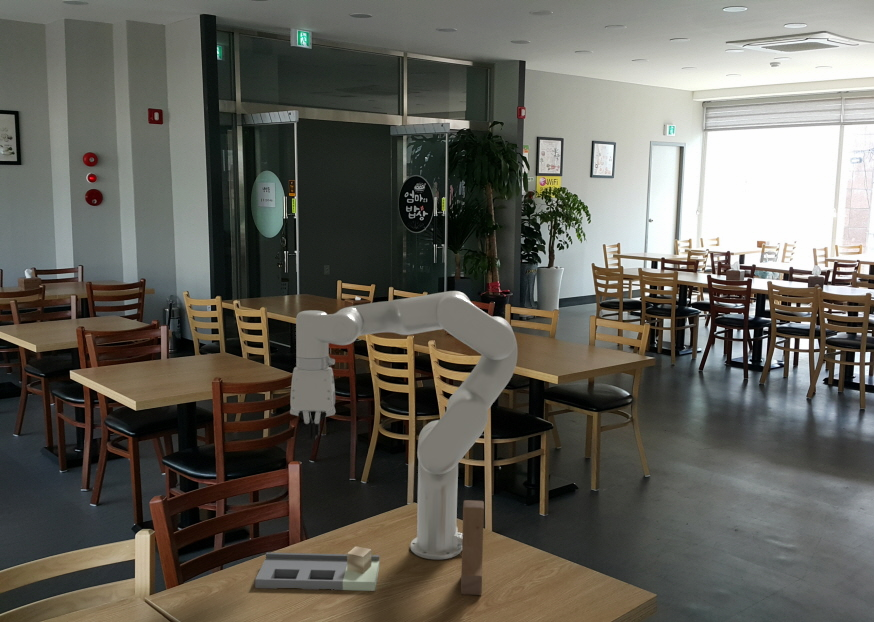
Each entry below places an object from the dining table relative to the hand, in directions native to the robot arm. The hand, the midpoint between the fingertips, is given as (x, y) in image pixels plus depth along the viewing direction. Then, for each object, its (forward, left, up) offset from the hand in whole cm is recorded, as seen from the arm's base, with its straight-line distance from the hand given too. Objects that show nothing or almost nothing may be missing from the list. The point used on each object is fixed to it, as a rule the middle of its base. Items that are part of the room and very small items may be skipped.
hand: (312, 438), depth 190 cm
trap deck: (-4, +16, -27) cm, 32 cm away
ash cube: (-13, +15, -25) cm, 32 cm away
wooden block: (-38, +18, -27) cm, 50 cm away
